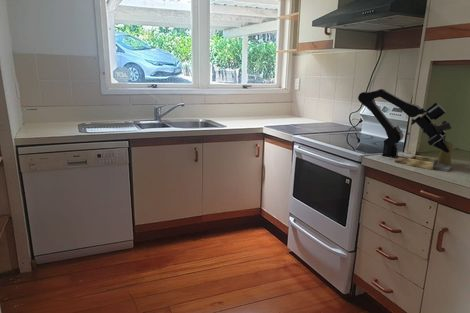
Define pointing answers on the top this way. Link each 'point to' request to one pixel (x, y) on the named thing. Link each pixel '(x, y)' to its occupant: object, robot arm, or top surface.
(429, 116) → the robot arm
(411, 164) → the wooden tray
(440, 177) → the top surface
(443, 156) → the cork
